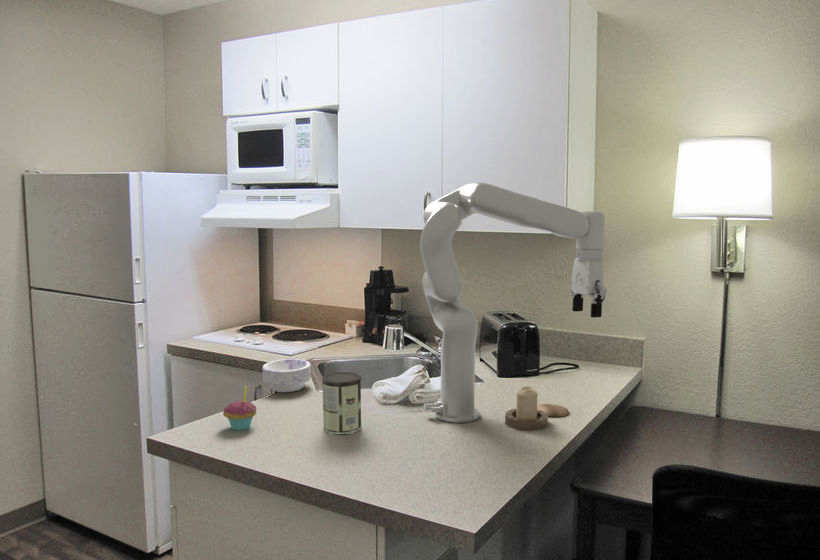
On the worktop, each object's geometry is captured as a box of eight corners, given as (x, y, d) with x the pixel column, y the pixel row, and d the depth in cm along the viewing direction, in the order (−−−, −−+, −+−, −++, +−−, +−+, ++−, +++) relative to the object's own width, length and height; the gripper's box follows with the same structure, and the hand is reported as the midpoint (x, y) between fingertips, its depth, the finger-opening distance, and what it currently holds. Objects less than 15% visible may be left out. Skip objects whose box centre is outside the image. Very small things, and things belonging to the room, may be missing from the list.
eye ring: (516, 432, 177) (516, 423, 177) (498, 418, 188) (499, 410, 188) (554, 428, 181) (555, 419, 180) (535, 414, 191) (535, 406, 191)
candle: (536, 427, 181) (537, 391, 180) (515, 426, 182) (516, 390, 181) (536, 420, 186) (537, 385, 185) (516, 419, 188) (517, 384, 186)
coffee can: (338, 419, 187) (337, 369, 185) (369, 426, 182) (368, 375, 180) (314, 430, 178) (313, 378, 176) (346, 438, 173) (345, 384, 171)
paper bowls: (253, 392, 211) (252, 368, 210) (278, 380, 226) (277, 356, 224) (297, 397, 206) (296, 372, 205) (319, 384, 221) (319, 360, 220)
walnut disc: (542, 418, 188) (542, 416, 188) (526, 407, 197) (526, 405, 197) (574, 415, 191) (574, 413, 191) (557, 404, 200) (557, 402, 200)
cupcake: (254, 420, 186) (253, 378, 184) (259, 430, 178) (258, 386, 177) (222, 424, 183) (220, 381, 181) (225, 434, 175) (224, 390, 173)
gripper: (562, 252, 200) (559, 309, 202) (594, 258, 183) (591, 320, 186) (584, 252, 202) (581, 308, 204) (618, 257, 186) (615, 319, 188)
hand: (586, 314), depth 195 cm, fingers open, 9 cm apart
